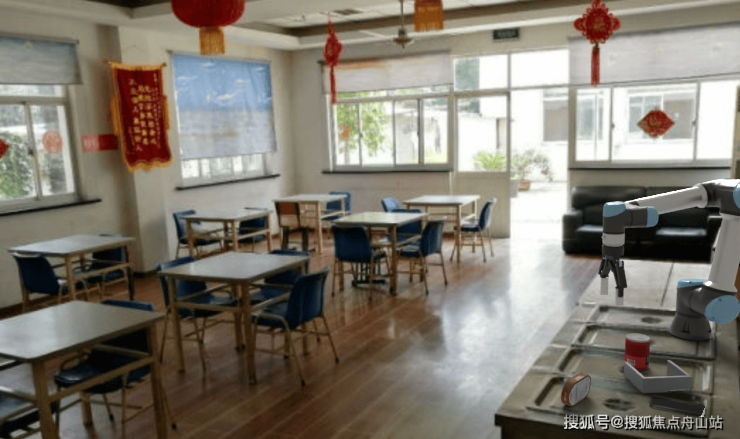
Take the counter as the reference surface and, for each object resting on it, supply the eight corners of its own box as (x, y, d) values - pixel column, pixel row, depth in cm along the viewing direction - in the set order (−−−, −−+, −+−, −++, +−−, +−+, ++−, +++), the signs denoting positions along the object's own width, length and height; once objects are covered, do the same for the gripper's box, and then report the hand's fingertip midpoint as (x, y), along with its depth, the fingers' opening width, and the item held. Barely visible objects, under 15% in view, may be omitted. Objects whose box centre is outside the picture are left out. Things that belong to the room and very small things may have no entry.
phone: (705, 415, 175) (649, 404, 183) (704, 419, 175) (648, 408, 183) (705, 404, 182) (651, 394, 189) (705, 408, 182) (651, 397, 189)
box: (669, 373, 206) (670, 360, 205) (691, 391, 192) (692, 376, 192) (623, 375, 205) (624, 361, 205) (642, 393, 192) (643, 378, 191)
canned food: (651, 371, 208) (652, 341, 207) (626, 369, 210) (628, 340, 208) (645, 362, 216) (647, 333, 214) (622, 361, 217) (623, 332, 216)
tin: (583, 392, 194) (584, 367, 192) (592, 395, 192) (593, 370, 190) (559, 408, 184) (560, 382, 182) (569, 411, 181) (569, 385, 180)
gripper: (590, 238, 231) (588, 290, 235) (617, 251, 207) (615, 310, 210) (609, 237, 232) (607, 290, 235) (638, 251, 207) (636, 309, 210)
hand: (611, 299), depth 223 cm, fingers open, 13 cm apart
